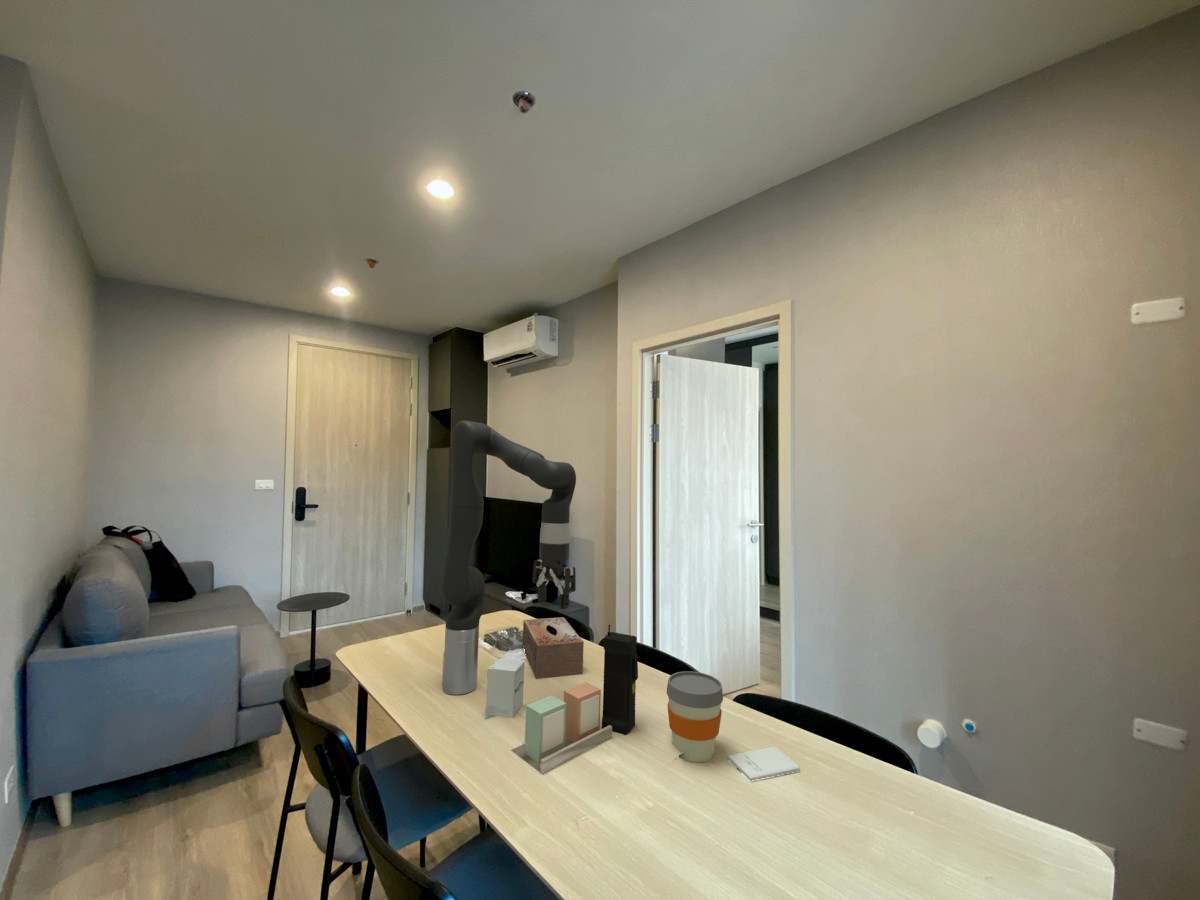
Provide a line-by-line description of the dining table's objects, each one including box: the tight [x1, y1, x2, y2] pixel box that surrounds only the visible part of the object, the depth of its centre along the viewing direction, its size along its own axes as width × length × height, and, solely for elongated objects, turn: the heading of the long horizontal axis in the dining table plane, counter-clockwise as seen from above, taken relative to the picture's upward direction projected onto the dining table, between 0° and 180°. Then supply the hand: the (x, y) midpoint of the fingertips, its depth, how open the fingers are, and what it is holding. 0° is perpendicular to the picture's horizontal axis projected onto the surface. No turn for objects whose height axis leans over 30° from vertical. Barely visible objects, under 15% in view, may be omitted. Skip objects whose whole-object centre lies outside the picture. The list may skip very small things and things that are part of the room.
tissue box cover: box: [522, 616, 585, 680], centre depth 157 cm, size 26×14×10 cm, turn 18°
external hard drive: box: [726, 746, 801, 781], centre depth 103 cm, size 2×8×12 cm
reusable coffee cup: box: [666, 671, 724, 763], centre depth 108 cm, size 13×13×15 cm
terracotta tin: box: [563, 681, 602, 743], centre depth 110 cm, size 5×7×10 cm
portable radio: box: [601, 624, 639, 736], centre depth 114 cm, size 8×6×25 cm
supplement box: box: [484, 657, 525, 721], centre depth 121 cm, size 7×7×13 cm
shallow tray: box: [510, 725, 613, 775], centre depth 106 cm, size 11×20×4 cm, turn 135°
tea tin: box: [524, 694, 566, 764], centre depth 103 cm, size 5×7×10 cm
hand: (552, 605), depth 120 cm, fingers open, 8 cm apart
